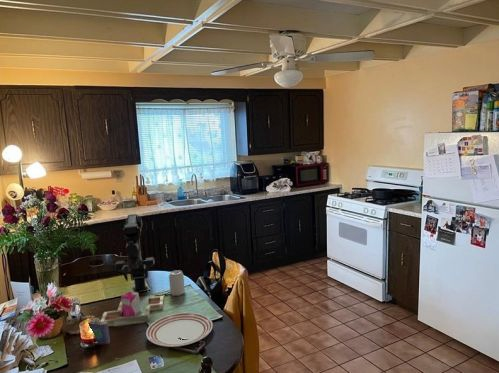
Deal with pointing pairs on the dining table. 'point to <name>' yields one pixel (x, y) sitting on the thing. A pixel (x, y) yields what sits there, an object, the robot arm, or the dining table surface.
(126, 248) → the robot arm
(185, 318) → the dinner plate
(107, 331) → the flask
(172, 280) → the can
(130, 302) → the supplement box
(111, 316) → the trap lane
